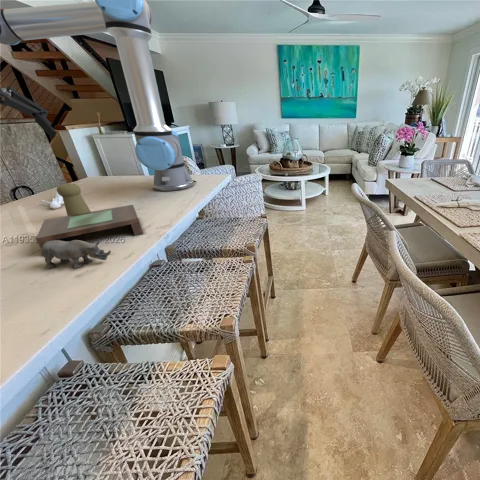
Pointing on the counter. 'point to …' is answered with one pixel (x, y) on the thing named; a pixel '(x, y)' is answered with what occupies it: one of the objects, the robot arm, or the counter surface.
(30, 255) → the counter surface
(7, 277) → the counter surface
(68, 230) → the shelf
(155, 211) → the counter surface
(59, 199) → the woman figurine
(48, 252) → the rhino figurine
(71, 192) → the cork
